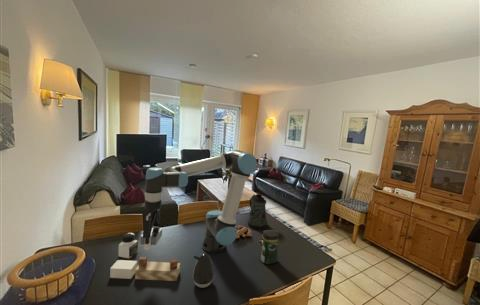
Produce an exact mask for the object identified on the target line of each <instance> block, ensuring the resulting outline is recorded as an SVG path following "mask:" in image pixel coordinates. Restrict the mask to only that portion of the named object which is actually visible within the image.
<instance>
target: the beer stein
mask: <svg viewBox="0 0 480 305" xmlns="http://www.w3.org/2000/svg"><path fill="white" fill-rule="evenodd" d="M248 204H249V207H250V211H249V214H248V217H247V221H246V223H247V226H248V227H249V228H251V229H253V230H265V229H266V228H267V225H268V220H267V212H266V211H267V210H266V205H267V200H266V199H265V198H264V197H263V196H262V194H259V193H256V194H253V195H252V196H251V197H250V198H249V202H248Z"/></svg>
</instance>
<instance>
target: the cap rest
mask: <svg viewBox="0 0 480 305" xmlns="http://www.w3.org/2000/svg"><path fill="white" fill-rule="evenodd" d="M137 267H138V260H124V259H117V260H116V261H115V263H113V265H112V266H111V267H110V270H109V271H110V273H109V274H110V275H109V278H110V279H128V280H131V279H132V278H133V277H134V276H135V269H136V268H137Z"/></svg>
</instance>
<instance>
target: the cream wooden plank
mask: <svg viewBox="0 0 480 305" xmlns="http://www.w3.org/2000/svg"><path fill="white" fill-rule="evenodd" d="M180 272H181V263H180V262H178V259H176V258H173V259H171V260H169V262H165V261H164V262H161V261H148V256H140V257H139V258H138V264H137V268H136V269H135V274H134V277H135V278H134V280H148V281H150V280H151V281H166V282H167V281H169V282H177V281H178V278H179V276H180Z"/></svg>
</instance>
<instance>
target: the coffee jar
mask: <svg viewBox="0 0 480 305" xmlns="http://www.w3.org/2000/svg"><path fill="white" fill-rule="evenodd" d="M261 237H262V247H261V251H260V252H261V253H260V260H261V262H262V263H263V264H265V265H272V264H273V265H274V264H276V263H277V262H278V242H279V241H280V240H279V239H280V233H279V232H278V230H276V229H267V230H265V229H264V230H262V235H261Z"/></svg>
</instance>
